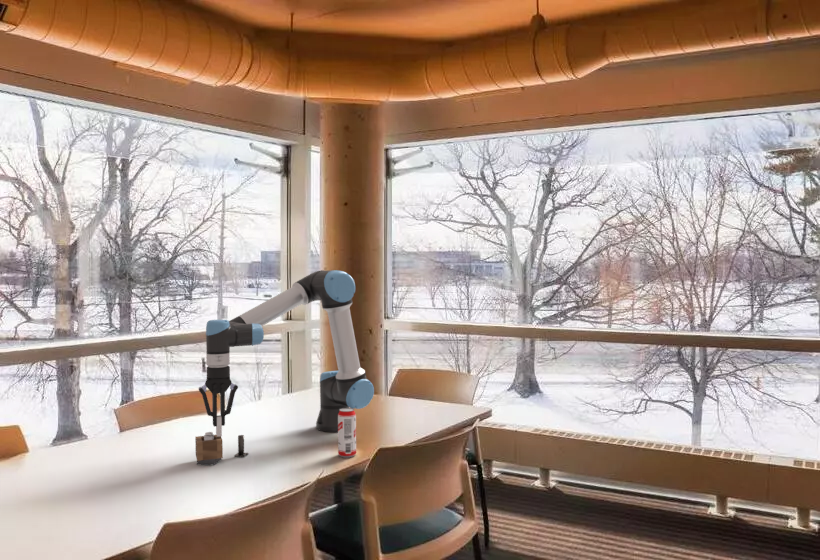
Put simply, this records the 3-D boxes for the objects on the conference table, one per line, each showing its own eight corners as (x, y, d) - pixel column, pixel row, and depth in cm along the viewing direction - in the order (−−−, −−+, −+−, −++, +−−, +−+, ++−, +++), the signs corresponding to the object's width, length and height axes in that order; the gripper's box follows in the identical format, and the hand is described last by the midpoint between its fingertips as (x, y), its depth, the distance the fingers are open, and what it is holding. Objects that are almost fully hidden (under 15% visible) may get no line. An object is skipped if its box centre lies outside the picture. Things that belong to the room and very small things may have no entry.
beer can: (339, 458, 222) (339, 412, 221) (336, 453, 228) (336, 408, 227) (357, 457, 223) (357, 410, 223) (354, 452, 229) (354, 407, 229)
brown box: (195, 454, 221) (195, 436, 221) (220, 451, 224) (219, 434, 224) (197, 460, 214) (197, 442, 213) (222, 458, 217) (222, 440, 216)
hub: (204, 459, 222) (204, 430, 222) (221, 459, 221) (221, 430, 221) (196, 464, 216) (196, 435, 216) (214, 465, 215) (213, 435, 215)
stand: (238, 454, 228) (238, 434, 228) (248, 454, 227) (248, 434, 227) (234, 457, 224) (234, 436, 224) (244, 457, 224) (244, 437, 224)
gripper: (198, 368, 213) (199, 440, 214) (239, 366, 218) (240, 436, 219) (196, 365, 220) (197, 434, 221) (236, 363, 225) (237, 430, 226)
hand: (218, 435), depth 220 cm, fingers closed
